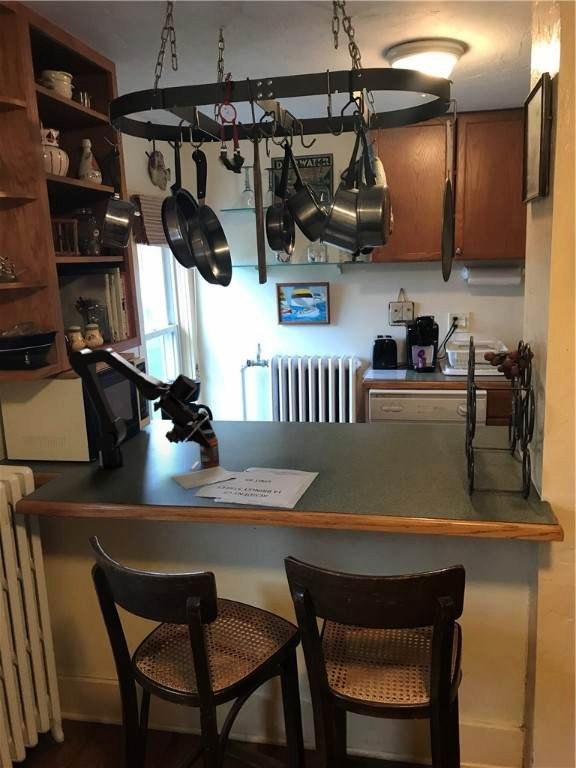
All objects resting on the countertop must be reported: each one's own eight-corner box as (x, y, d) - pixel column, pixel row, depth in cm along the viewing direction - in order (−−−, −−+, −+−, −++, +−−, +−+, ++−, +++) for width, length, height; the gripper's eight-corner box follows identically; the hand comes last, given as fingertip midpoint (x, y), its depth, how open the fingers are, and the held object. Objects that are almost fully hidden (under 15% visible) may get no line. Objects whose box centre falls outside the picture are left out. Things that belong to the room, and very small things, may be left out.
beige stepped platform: (185, 489, 178) (185, 488, 178) (171, 478, 188) (171, 476, 188) (236, 478, 186) (235, 476, 186) (219, 467, 196) (219, 466, 196)
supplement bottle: (221, 462, 201) (219, 428, 199) (217, 468, 195) (215, 433, 193) (203, 462, 202) (200, 428, 199) (198, 468, 196) (196, 434, 194)
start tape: (190, 468, 196) (190, 468, 196) (196, 461, 203) (196, 461, 203) (193, 468, 196) (193, 468, 196) (199, 461, 202) (199, 461, 202)
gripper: (169, 420, 207) (204, 452, 208) (151, 436, 189) (189, 470, 190) (190, 397, 204) (225, 429, 205) (174, 411, 186) (212, 445, 187)
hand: (213, 443), depth 197 cm, fingers open, 8 cm apart
